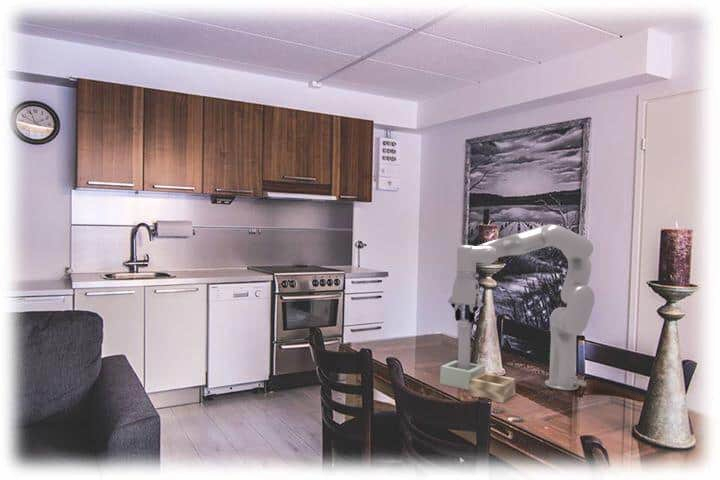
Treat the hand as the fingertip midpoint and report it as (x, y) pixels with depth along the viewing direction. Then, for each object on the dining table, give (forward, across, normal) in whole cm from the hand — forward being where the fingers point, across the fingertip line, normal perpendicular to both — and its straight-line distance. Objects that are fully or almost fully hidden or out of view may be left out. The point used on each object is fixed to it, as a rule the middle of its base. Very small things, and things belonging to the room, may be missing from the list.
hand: (464, 320), depth 212 cm
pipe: (+24, 0, 0) cm, 24 cm away
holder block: (+25, 0, 0) cm, 25 cm away
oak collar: (+25, -15, +6) cm, 30 cm away
